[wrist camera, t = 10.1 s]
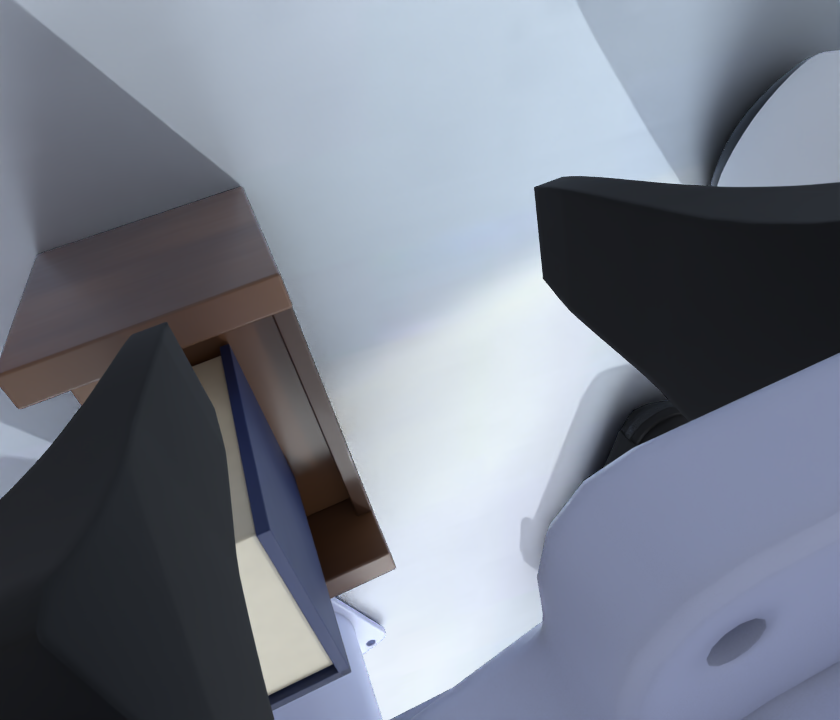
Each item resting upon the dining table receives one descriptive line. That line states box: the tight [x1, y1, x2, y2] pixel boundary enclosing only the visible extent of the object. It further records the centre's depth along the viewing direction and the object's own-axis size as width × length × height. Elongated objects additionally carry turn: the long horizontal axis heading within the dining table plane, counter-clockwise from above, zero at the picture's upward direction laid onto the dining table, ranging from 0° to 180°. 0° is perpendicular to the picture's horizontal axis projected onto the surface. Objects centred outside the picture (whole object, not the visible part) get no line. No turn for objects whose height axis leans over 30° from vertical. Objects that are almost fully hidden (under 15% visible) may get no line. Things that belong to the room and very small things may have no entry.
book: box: [192, 344, 351, 711], centre depth 17 cm, size 3×6×8 cm, turn 13°
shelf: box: [0, 187, 396, 599], centre depth 20 cm, size 6×12×7 cm, turn 13°
